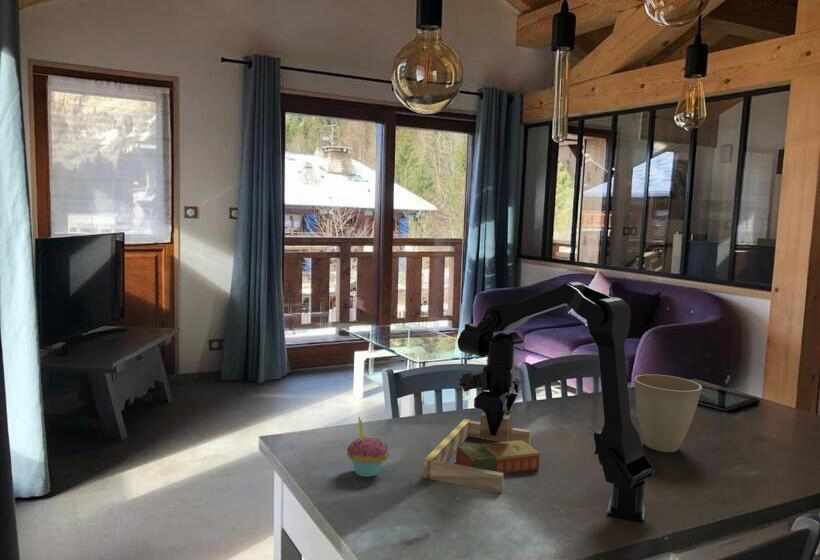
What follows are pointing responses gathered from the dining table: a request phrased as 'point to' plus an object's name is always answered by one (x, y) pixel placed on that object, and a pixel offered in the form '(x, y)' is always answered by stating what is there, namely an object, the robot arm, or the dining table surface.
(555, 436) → the dining table surface
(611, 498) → the robot arm
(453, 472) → the dock bay
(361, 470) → the cupcake
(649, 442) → the plant pot
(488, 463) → the carton
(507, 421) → the cardboard box
